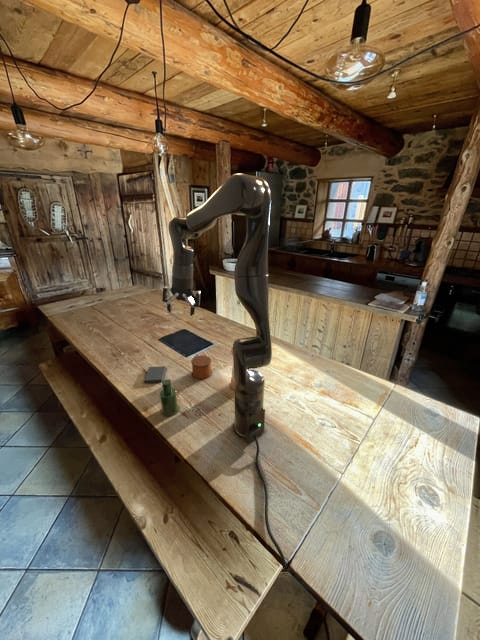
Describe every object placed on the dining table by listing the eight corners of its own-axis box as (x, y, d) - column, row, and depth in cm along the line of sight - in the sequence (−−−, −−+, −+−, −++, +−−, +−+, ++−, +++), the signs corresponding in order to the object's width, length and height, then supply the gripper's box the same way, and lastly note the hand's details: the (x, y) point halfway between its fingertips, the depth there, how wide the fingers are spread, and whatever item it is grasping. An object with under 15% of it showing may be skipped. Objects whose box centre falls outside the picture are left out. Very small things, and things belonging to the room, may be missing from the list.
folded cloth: (161, 382, 111) (161, 379, 110) (144, 382, 110) (144, 380, 110) (165, 368, 120) (165, 366, 119) (150, 369, 119) (149, 366, 119)
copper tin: (215, 374, 115) (214, 362, 113) (197, 381, 111) (196, 368, 108) (206, 365, 122) (205, 353, 119) (189, 371, 118) (188, 359, 115)
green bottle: (180, 411, 95) (177, 383, 90) (165, 418, 92) (161, 389, 87) (174, 402, 99) (171, 375, 94) (160, 408, 96) (155, 380, 91)
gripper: (160, 274, 94) (160, 315, 102) (200, 280, 95) (197, 320, 102) (166, 268, 101) (165, 306, 108) (203, 274, 101) (200, 311, 109)
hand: (180, 313), depth 105 cm, fingers open, 8 cm apart
